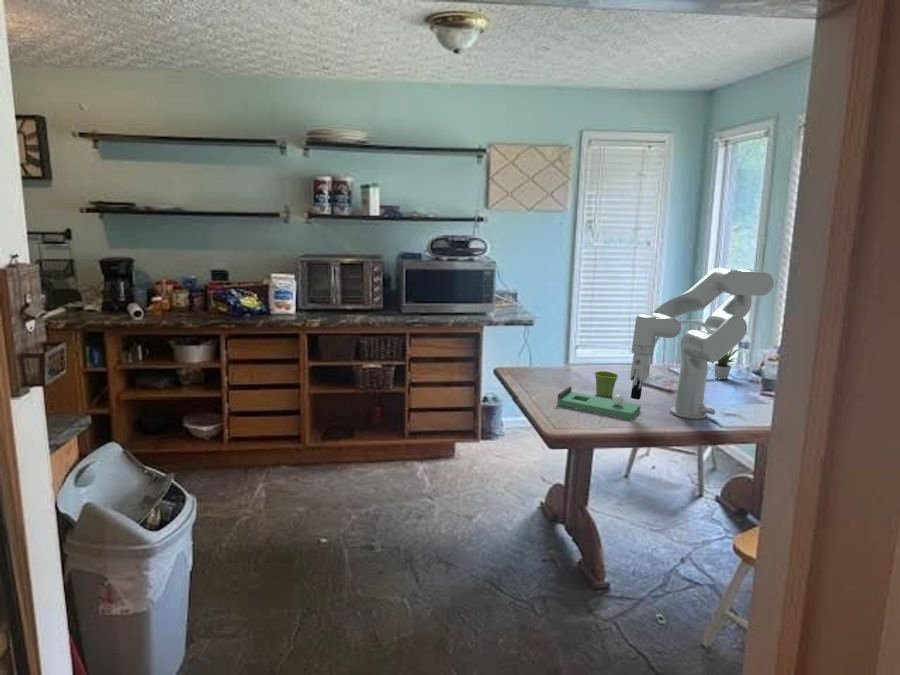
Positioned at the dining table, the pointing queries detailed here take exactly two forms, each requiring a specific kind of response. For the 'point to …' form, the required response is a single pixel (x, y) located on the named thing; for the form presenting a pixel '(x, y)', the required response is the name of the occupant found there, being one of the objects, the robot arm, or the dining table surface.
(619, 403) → the ball
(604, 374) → the plant pot
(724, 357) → the house plant
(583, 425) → the dining table surface
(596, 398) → the green
